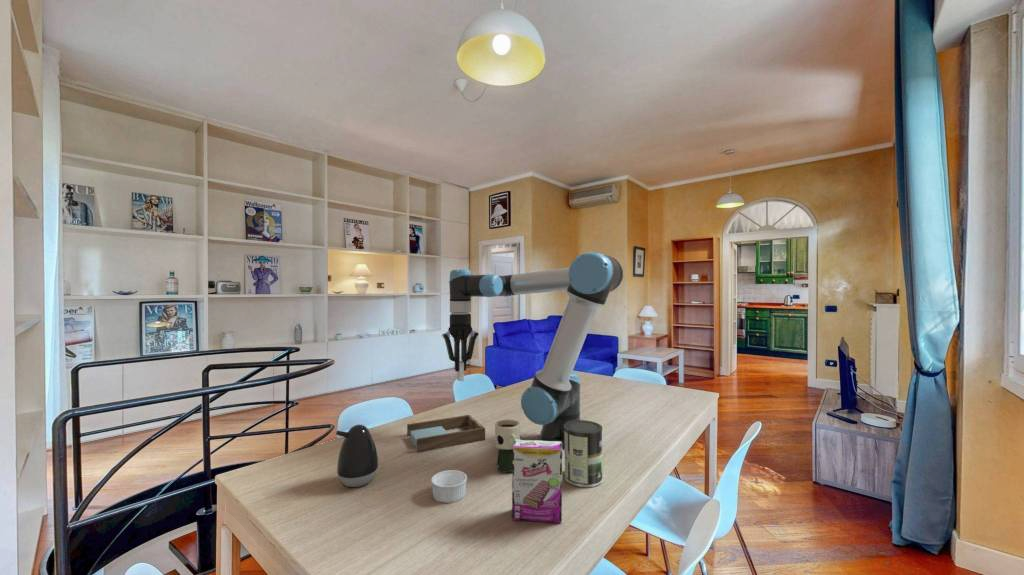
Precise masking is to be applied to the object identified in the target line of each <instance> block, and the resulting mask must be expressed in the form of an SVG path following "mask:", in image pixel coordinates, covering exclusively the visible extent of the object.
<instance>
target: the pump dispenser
mask: <svg viewBox="0 0 1024 575" xmlns="http://www.w3.org/2000/svg"><path fill="white" fill-rule="evenodd" d="M335 435H337V436H340V437H341V438H344V439H343V441H342V443H341V447H340V450H339V454H338V459H337V466H336V467H337V468H336V473H337V475H338V478H339V480H340V481H341V483H342V484H343V485H345V486H346V487H350V488H358V487H362V486H364V485H367V484H369V482H371V481H372V480H373V479H374V478H375V475H376V473H377V470H378V468H379V457H378V451H377V447H376V443H375V440H374V438H373V435H372V433H371V431H370V429H369V428H368V427H367V426H365V425H364V424H356V425H353V426H351V427H350V428H349V430H348V431H343V430H337V431H336V433H335Z"/></svg>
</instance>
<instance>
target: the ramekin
mask: <svg viewBox="0 0 1024 575" xmlns="http://www.w3.org/2000/svg"><path fill="white" fill-rule="evenodd" d="M467 481H468V475H467V474H466V473H465V472H463V471H461V470H455V469H449V470H448V469H447V470H443V471H439V472H437V473H435V474H434V475H433V476H431V480H430V482H431V486H432V495H433V496H432V497H433V499H434V500H435V501H436V502H439V503H445V504H446V503H447V504H448V503H454V502H458V501H460V500H462V499H463V498H464V496H465V494H466V491H467V490H466V488H467Z"/></svg>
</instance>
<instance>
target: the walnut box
mask: <svg viewBox="0 0 1024 575" xmlns="http://www.w3.org/2000/svg"><path fill="white" fill-rule="evenodd" d="M406 426H407V427H406V428H407V429H406V430H407V431H406V433H407V437H408V436H409V437H410V431H414V430H420V429H426V428H432V427H439V426H442V427H443V428H444V429H445V430H446V431H451V430H456V429H455V428H457V429H462V428H461V427H463V428H468V427H469V428H470V429H469V428H468V429H466V430H461V431H456V432H447V433H448V434H442V435H436V436H430V437H424V438H418V439H417V448H416V452H417V453H422V452H429V451H433V450H438V449H444V448H449V447H455V446H460V445H465V444H466V445H467V444H470V443H477V442H482V441H486V427H485V426H483V425H482V424H480V423H479V422H478V420H476V419H475V418H474V417H472V416H471V415H470V414H466V415H460V416H451V417H447V418H440V419H433V420H425V421H420V422H413V423H407V424H406ZM467 426H468V427H467ZM450 429H451V430H450Z"/></svg>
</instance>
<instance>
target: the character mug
mask: <svg viewBox="0 0 1024 575" xmlns="http://www.w3.org/2000/svg"><path fill="white" fill-rule="evenodd" d="M494 436H495V437H494V439H495V440H494V445H495V447H496V448H497V449H498V454H497V460H496V466H497V470H498V471H499V472H503V473H509V472H512V470H513V469H512V466H513V445H514V441H515V439H519V440H521V424H520V422H519V421H518V420H515V419H501V420H498V421H496V422H495V424H494Z"/></svg>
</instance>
